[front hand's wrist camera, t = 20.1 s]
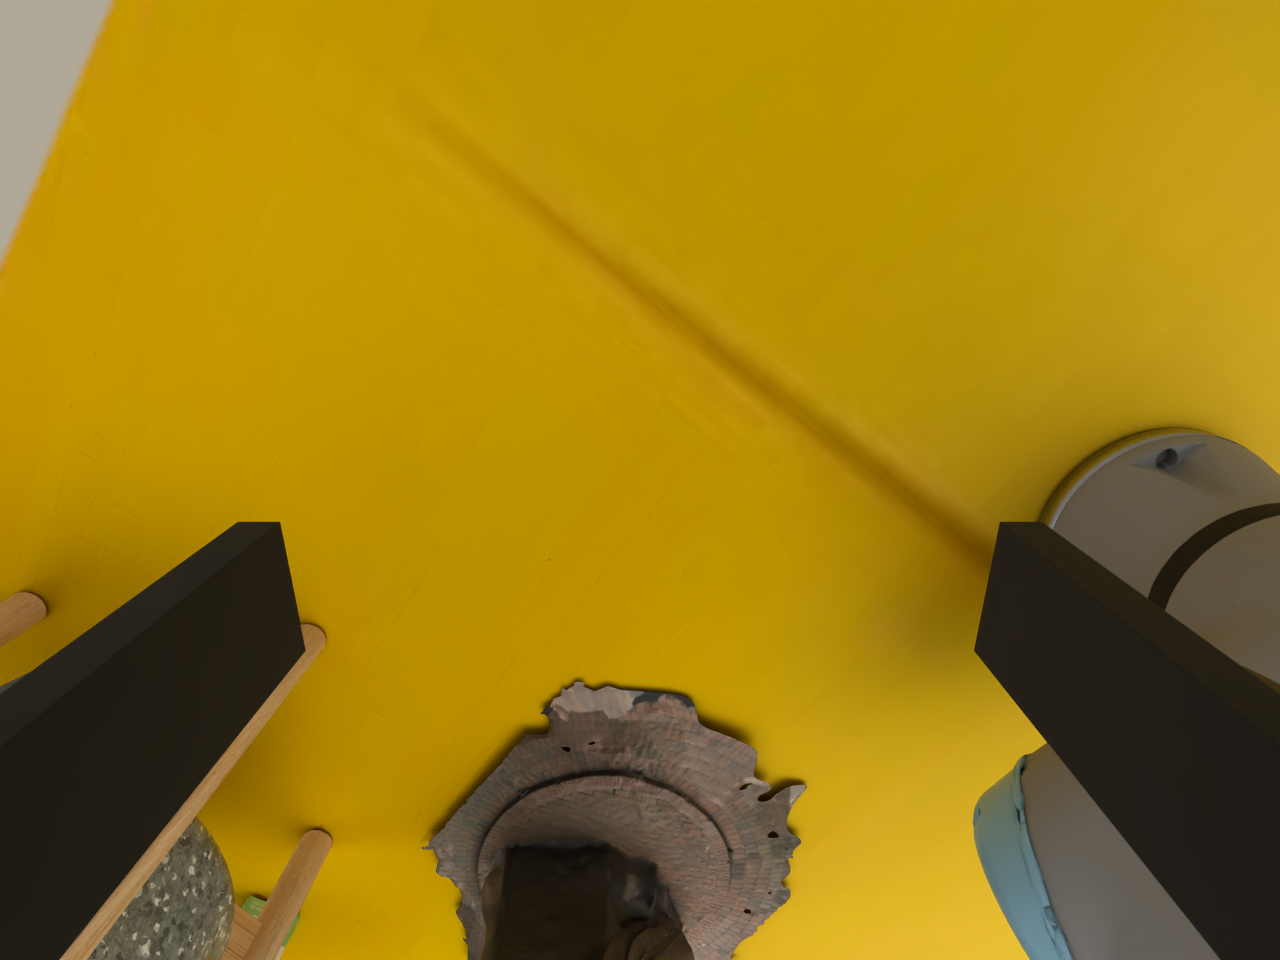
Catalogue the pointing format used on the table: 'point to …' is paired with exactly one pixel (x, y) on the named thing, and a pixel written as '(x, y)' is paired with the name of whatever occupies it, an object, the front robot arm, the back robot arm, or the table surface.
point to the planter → (193, 861)
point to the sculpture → (618, 838)
